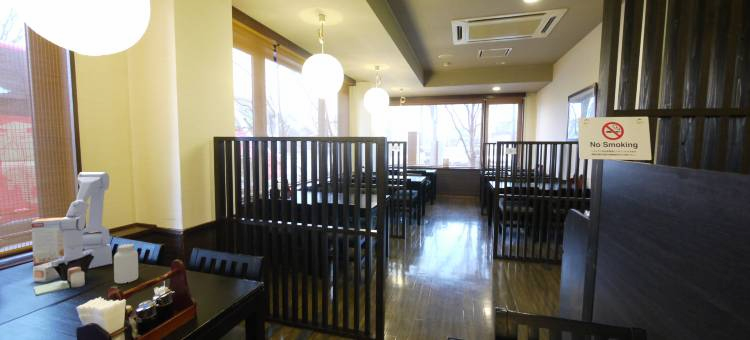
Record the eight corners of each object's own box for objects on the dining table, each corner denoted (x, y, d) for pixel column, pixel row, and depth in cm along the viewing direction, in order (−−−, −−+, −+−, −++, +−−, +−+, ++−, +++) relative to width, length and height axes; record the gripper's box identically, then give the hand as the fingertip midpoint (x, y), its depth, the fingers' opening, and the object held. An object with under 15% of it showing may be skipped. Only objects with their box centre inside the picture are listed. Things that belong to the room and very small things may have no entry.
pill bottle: (142, 277, 133) (142, 244, 132) (122, 285, 126) (121, 249, 124) (130, 274, 136) (129, 241, 135) (109, 282, 128) (108, 247, 127)
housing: (57, 273, 135) (56, 259, 135) (68, 274, 134) (68, 260, 134) (32, 281, 126) (31, 267, 126) (44, 283, 126) (43, 268, 125)
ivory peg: (83, 282, 127) (83, 270, 127) (85, 285, 125) (85, 273, 125) (70, 285, 124) (69, 273, 124) (71, 288, 122) (71, 276, 121)
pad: (65, 281, 128) (65, 279, 128) (69, 287, 122) (69, 286, 122) (33, 288, 121) (33, 286, 121) (36, 295, 115) (36, 294, 115)
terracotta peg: (80, 277, 132) (80, 266, 131) (82, 280, 129) (81, 268, 129) (67, 280, 129) (66, 268, 128) (69, 283, 126) (68, 271, 126)
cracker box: (78, 257, 154) (76, 216, 152) (72, 261, 149) (70, 218, 147) (40, 260, 148) (38, 218, 146) (32, 265, 143) (30, 221, 141)
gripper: (84, 239, 136) (85, 269, 137) (44, 249, 121) (45, 283, 122) (97, 240, 134) (98, 270, 135) (58, 251, 120) (60, 284, 121)
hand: (74, 276), depth 129 cm, fingers open, 7 cm apart
